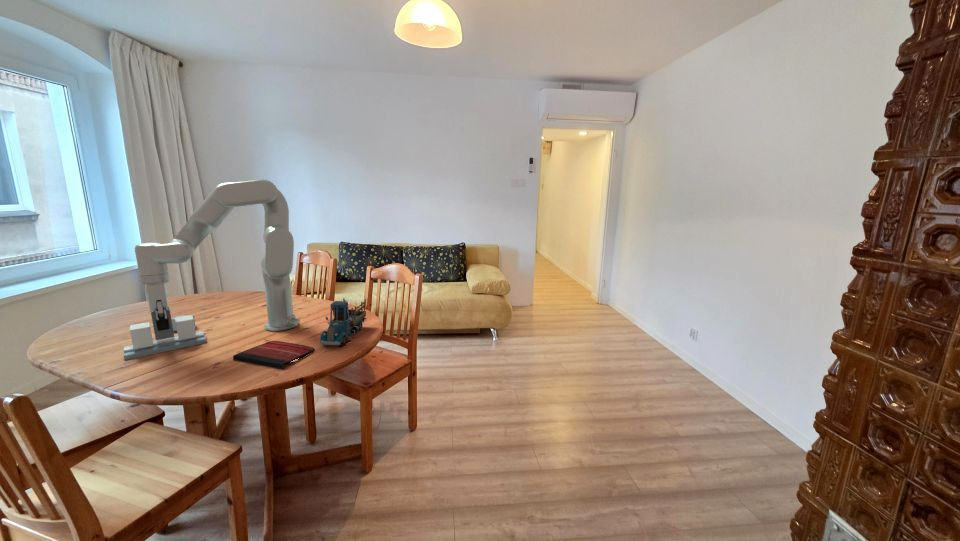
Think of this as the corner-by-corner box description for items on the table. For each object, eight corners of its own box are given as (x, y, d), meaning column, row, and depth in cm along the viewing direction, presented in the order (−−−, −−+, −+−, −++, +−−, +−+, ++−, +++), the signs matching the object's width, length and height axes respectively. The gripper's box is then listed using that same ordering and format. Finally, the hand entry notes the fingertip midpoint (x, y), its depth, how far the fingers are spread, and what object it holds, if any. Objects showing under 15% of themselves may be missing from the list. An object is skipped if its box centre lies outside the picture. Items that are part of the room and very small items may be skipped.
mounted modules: (194, 332, 139) (191, 314, 137) (196, 336, 135) (193, 319, 133) (133, 344, 128) (130, 325, 126) (133, 349, 123) (129, 330, 122)
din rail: (203, 333, 140) (203, 331, 140) (204, 336, 137) (204, 334, 137) (124, 349, 125) (123, 347, 125) (124, 352, 123) (123, 350, 123)
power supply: (195, 326, 151) (194, 315, 150) (187, 331, 146) (185, 319, 145) (180, 326, 150) (178, 315, 149) (172, 330, 146) (170, 319, 145)
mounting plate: (202, 334, 143) (202, 331, 142) (206, 342, 135) (205, 338, 135) (125, 350, 128) (124, 346, 128) (124, 360, 121) (123, 355, 121)
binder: (282, 364, 116) (232, 355, 122) (282, 370, 117) (232, 361, 123) (317, 346, 131) (271, 338, 137) (318, 352, 132) (271, 344, 138)
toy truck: (315, 349, 132) (312, 310, 129) (345, 324, 156) (342, 291, 153) (343, 350, 131) (341, 311, 128) (369, 325, 156) (367, 292, 152)
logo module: (173, 332, 135) (168, 305, 132) (174, 336, 130) (169, 309, 128) (155, 335, 131) (150, 307, 129) (155, 340, 127) (150, 312, 125)
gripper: (140, 275, 130) (148, 322, 134) (140, 285, 118) (149, 337, 121) (167, 272, 135) (175, 318, 139) (170, 281, 123) (178, 331, 126)
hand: (163, 326), depth 130 cm, fingers closed on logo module, 6 cm apart
